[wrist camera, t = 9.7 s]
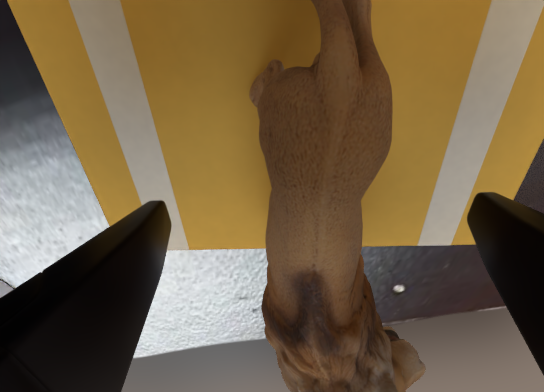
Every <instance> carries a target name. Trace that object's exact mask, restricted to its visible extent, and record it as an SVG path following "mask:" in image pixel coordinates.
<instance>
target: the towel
mask: <svg viewBox="0 0 544 392" xmlns="http://www.w3.org/2000/svg"><path fill="white" fill-rule="evenodd" d="M7 1H8V4H9V6H10V8H11V10H12V12H13V15H14V17H15V19H16V21H17V23H18V26H19V28H20V30H21V32H22V34H23V37H24V39H25V41H26V43H27V45H28V48H29V50H30V52H31V54H32V56H33V59H34V61H35V63H36V65H37V67H38V70H39V72H40V74H41V76H42V78H43V81H44V83H45V85H46V87H47V89H48V92H49V94H50V96H51V98H52V100H53V103H54V105H55V107H56V109H57V111H58V114H59V116H60V118H61V120H62V122H63V125H64V127H65V129H66V131H67V133H68V136H69V138H70V140H71V142H72V144H73V147H74V149H75V151H76V153H77V155H78V158H79V160H80V162H81V164H82V166H83V169H84V171H85V173H86V175H87V177H88V180H89V182H90V184H91V186H92V188H93V191H94V193H95V195H96V197H97V199H98V202H99V204H100V206H101V208H102V210H103V213H104V215H105V217H106V219H107V221H108V224H109V226H112V225H113V224H115V223H116V222H118V221H119V220H121V219H122V218H124V217H125V216H127V215H128V214H130V213H131V212H133V211H134V210H136V209H138V208H139V207H141V206H142V205H144V204H145V203H147V202H148V201H151V200H162V201H164V202H165V204H166V206H167V210H168V213H169V216H170V220H171V226H172V227H171V233H170V238H169V242H168V247H167V250H204V249H258V248H266V244H265V240H266V228H267V219H268V210H269V198H270V194H271V190H272V187H271V183H270V179H269V175H268V171H267V167H266V162H265V157H264V154H263V152H262V150H261V146H260V142H259V124H260V120H259V116H258V112H257V107H256V106H255V105H254V104H253V103H252V101H251V99H250V97H249V92H250V88H251V86H252V84H253V82H254V80H255V78H256V77H257V76H258V75H259V74H261V73H262V72H263V71H264V70H265V68H266V67H267V65H268V64H269V62H271V61H272V60H274V59H276V60H280V61H281V62H282V64H283V67H284V69H287V68H291V67H296V66H300V67H310V66H311V65H312V64H313V61H314V58H315V56H316V55H317V54H318V53H319V52H320V47H321V29H320V20H319V17H318V14H317V11H316V8H315V6H314V4H313V3H312V1H311V0H7ZM371 3H372V8H371V27H372V37H373V41H374V44H375V46H376V49H377V51H378V54H379V56H380V59H381V61H382V63H383V65H384V67H385V69H386V71H387V73H388V75H389V79H390V83H391V88H392V102H393V115H392V142H391V146H390V150H389V152H388V155H387V158H386V159H385V161H384V163H383V165H382V166H381V168H380V170H379V172H378V173H377V175H376V177H375V178H374V180H373V182H372V183H371V185H370V186H369V188H368V189H367V191H366V192H365V194H364V196H363V197H362V199H361V207H362V222H363V233H362V247H365V246H433V245H473V244H476V243H475V241H474V238H473V236H472V233H471V231H470V228H469V226H468V223H467V215H468V212H469V210H470V207H471V205H472V202H473V200H474V197H475V195H476V194H477V193H479V192H495V193H498V194H500V195H502V196H505V197H507V198H509V199H511V200H513V199H514V197H515V195H516V193H517V191H518V189H519V187H520V185H521V183H522V181H523V179H524V177H525V175H526V173H527V171H528V169H529V167H530V165H531V163H532V161H533V159H534V157H535V155H536V153H537V151H538V148H539V146H540V144H541V142H542V140H543V138H544V0H371Z"/></svg>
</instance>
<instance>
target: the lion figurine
mask: <svg viewBox="0 0 544 392" xmlns="http://www.w3.org/2000/svg"><path fill="white" fill-rule="evenodd" d="M311 1H312V3H313V4H314V6H315V8H316V11H317V14H318V17H319V20H320V29H321V47H320V52H319V53H318V54H317V55H316V56H315V58H314V61H313V64H312V65H311V66H310V67H300V66H296V67H291V68H287V69H284V67H283V64H282V62H281V61H280V60H276V59H274V60H272V61H271V62H269V64H268V65H267V67H266V68H265V70H264V71H263V72H262V73H261V74H259V75H258V76H257V77H256V78H255V80H254V82H253V84H252V86H251V88H250V92H249V97H250V99H251V101H252V103H253V104H254V105H255V106H256V107H257V112H258V116H259V120H260V124H259V142H260V146H261V150H262V152H263V154H264V157H265V162H266V167H267V171H268V175H269V179H270V183H271V187H272V190H271V194H270V198H269V210H268V219H267V228H266V240H265V244H266V253H267V260H268V267H267V282H268V283H267V285H266V288H265V291H264V294H263V301H262V313H263V318H264V321H265V325H266V326H265V335H266V338H267V340H268V341H269V343H270V344H271V345H272V347H273V348H274V349H275V350H276V354H277V360H278V365H279V368H280V369H281V371H282V372H281V374H282V377H283V379H284V381H285V383H286V386H287V387H288V389H289V390H290V391H291V392H406V389H407V388H409V387H410V386H411V385H412V384H413V383H414V382H416V381H417V380H418V379H419V378H420V377H421V376H422V375H423V374H424V372H425V370H426V368H425V365H424V364H423V363H422V362H421V361H420V359H419V356H418V353H417V351H416V350H415V348H414V347H413V346H411V344H410V343H409V342H407V341H405V340H404V339H399V337H398V335H397V333H396V332H395V330H394V329H393V328H392V327H383V326H382V322H381V319H380V316H379V315H378V313H377V312H376V306H375V302H374V297H373V293H372V289H371V286H370V283H369V282H368V280H367V277H366V275H365V274H364V262H363V257H362V255H361V248H362V233H363V222H362V207H361V199H362V197H363V196H364V194H365V192H366V191H367V189H368V188H369V186H370V185H371V183H372V182H373V180H374V178H375V177H376V175H377V173H378V172H379V170H380V168H381V166H382V165H383V163H384V161H385V159H386V158H387V155H388V152H389V150H390V146H391V142H392V115H393V102H392V88H391V83H390V79H389V75H388V73H387V71H386V69H385V67H384V65H383V63H382V61H381V59H380V56H379V54H378V51H377V49H376V46H375V44H374V41H373V37H372V27H371V8H372V3H371V0H311Z"/></svg>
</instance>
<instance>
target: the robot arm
mask: <svg viewBox="0 0 544 392" xmlns="http://www.w3.org/2000/svg"><path fill="white" fill-rule="evenodd" d="M467 223H468V226H469V228H470V231H471V233H472V236H473V238H474V241H475V243H476V246H477V248H478V251H479V253H480V255H481V258H482V260H483V263H484V265H485V267H486V269H487V271H488V273H489V275H490V277H491V279H492V281H493V283H494V285H495V286H496V288H497V290H498V292H499V294H500V296H501V297H502V299H503V301H504V303H505V305H506V307H507V309H508V310H509V312H510V314H511V316H512V318H513V319H514V321H515V323H516V325H517V327H518V329H519V331H520V332H521V334H522V336H523V338H524V340H525V342H526V344H527V345H528V347H529V349H530V351H531V353H532V355H533V356H534V358H535V360H536V362H537V364H538V366H539V368H540V369H541V371H542V373H543V375H544V214H543V213H541V212H539V211H536V210H534V209H532V208H530V207H527V206H525V205H523V204H520V203H518V202H516V201H514V200H511V199H509V198H507V197H505V196H502V195H500V194H498V193H495V192H479V193H477V194H476V195H475V197H474V200H473V202H472V205H471V207H470V210H469V212H468V215H467ZM171 227H172V226H171V220H170V216H169V213H168V210H167V206H166V204H165V202H164V201H162V200H151V201H148V202H147V203H145V204H144V205H142V206H141V207H139V208H138V209H136V210H134V211H133V212H131V213H130V214H128V215H127V216H125V217H124V218H122V219H121V220H119V221H118V222H116V223H115V224H113V225H112V226H110V227H109V228H107V229H105V230H104V231H102V232H101V233H99V234H98V235H96V236H95V237H93V238H92V239H90V240H89V241H87V242H86V243H84V244H83V245H81V246H79V247H78V248H76V249H75V250H73V251H72V252H70V253H69V254H67V255H66V256H64V257H63V258H61V259H60V260H58V261H57V262H55V263H54V264H52V265H50V266H49V267H47V268H46V269H44V270H43V272H42V273H41V272H40V273H38V274H37V275H35V276H34V277H32V278H31V279H29V280H28V281H26V282H24V283H23V284H21V285H20V286H18V287H17V288H15V289H13V290H12V291H10V292H9V293H7V294H6V295H4V296H2V297H1V298H0V392H121V390H122V387H123V384H124V382H125V379H126V376H127V373H128V370H129V367H130V364H131V361H132V358H133V355H134V353H135V350H136V347H137V344H138V341H139V338H140V335H141V332H142V329H143V326H144V324H145V321H146V318H147V315H148V312H149V309H150V306H151V303H152V300H153V297H154V295H155V292H156V289H157V286H158V283H159V280H160V277H161V274H162V270H163V266H164V261H165V256H166V252H167V247H168V242H169V238H170V233H171Z"/></svg>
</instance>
